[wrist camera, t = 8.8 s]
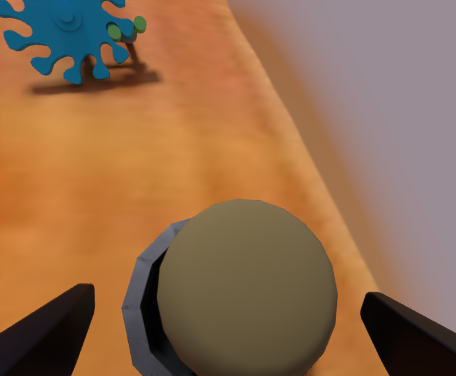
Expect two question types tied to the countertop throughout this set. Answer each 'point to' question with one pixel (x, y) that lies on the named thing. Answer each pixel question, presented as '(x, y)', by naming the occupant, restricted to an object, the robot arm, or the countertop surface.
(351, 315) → the countertop surface
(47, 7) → the gear
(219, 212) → the cork
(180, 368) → the fitting collar
